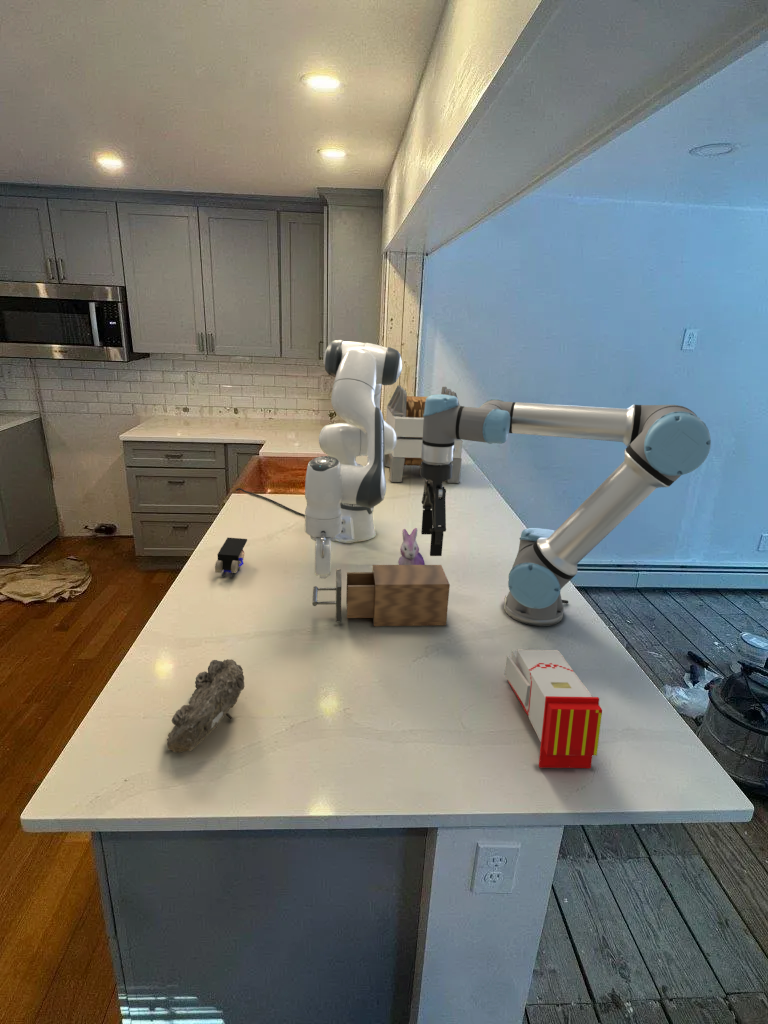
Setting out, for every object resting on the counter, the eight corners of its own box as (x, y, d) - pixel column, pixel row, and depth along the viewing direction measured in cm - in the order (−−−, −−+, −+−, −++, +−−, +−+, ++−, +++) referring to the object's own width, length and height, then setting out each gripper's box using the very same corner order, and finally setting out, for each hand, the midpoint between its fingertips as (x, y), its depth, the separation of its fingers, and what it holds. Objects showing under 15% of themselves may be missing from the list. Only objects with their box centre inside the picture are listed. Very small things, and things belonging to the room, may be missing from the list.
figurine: (405, 586, 162) (408, 538, 157) (388, 572, 170) (390, 525, 165) (433, 580, 166) (436, 533, 161) (415, 566, 174) (418, 521, 169)
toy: (554, 631, 124) (612, 705, 95) (548, 687, 127) (603, 776, 98) (499, 630, 124) (540, 704, 94) (495, 686, 126) (533, 775, 97)
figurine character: (238, 584, 162) (249, 557, 175) (236, 562, 158) (247, 536, 172) (215, 584, 161) (227, 556, 175) (212, 561, 158) (225, 535, 171)
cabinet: (373, 626, 141) (375, 584, 137) (370, 604, 152) (372, 564, 148) (446, 625, 143) (449, 584, 139) (438, 603, 154) (441, 564, 150)
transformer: (382, 463, 289) (386, 382, 275) (445, 464, 293) (451, 384, 279) (390, 482, 257) (394, 392, 243) (460, 483, 261) (468, 394, 247)
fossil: (192, 660, 117) (244, 628, 112) (224, 691, 120) (276, 661, 115) (142, 746, 98) (202, 712, 93) (182, 779, 101) (242, 748, 96)
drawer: (312, 621, 140) (312, 587, 137) (313, 602, 149) (313, 569, 146) (403, 621, 142) (405, 587, 139) (399, 601, 152) (401, 569, 148)
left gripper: (337, 541, 128) (336, 595, 132) (336, 510, 147) (335, 559, 151) (308, 541, 127) (308, 596, 132) (311, 510, 146) (311, 559, 151)
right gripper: (464, 476, 123) (456, 565, 130) (442, 449, 146) (437, 526, 153) (429, 476, 122) (423, 565, 129) (413, 448, 145) (409, 525, 152)
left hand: (323, 576), depth 142 cm, fingers closed
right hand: (430, 544), depth 141 cm, fingers open, 13 cm apart
